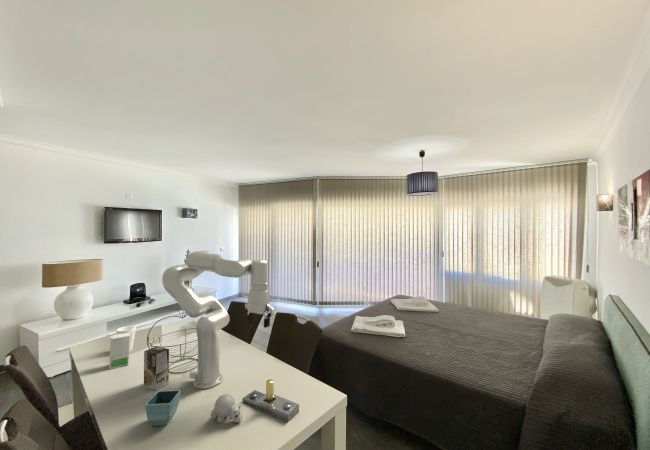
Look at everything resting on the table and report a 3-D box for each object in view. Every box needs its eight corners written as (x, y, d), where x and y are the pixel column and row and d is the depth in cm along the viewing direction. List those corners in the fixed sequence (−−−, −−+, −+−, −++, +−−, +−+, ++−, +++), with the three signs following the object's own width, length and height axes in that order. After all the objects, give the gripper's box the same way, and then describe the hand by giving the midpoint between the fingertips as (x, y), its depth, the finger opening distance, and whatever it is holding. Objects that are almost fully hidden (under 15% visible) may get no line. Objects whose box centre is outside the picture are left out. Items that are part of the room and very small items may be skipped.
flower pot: (157, 414, 105) (157, 390, 105) (180, 412, 106) (181, 389, 106) (143, 430, 96) (144, 404, 97) (169, 429, 97) (170, 403, 97)
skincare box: (109, 369, 139) (110, 339, 140) (109, 364, 145) (110, 335, 145) (129, 364, 145) (130, 335, 145) (128, 360, 150) (129, 331, 150)
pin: (270, 409, 108) (270, 384, 108) (264, 407, 109) (264, 382, 109) (275, 405, 110) (275, 380, 111) (269, 403, 112) (269, 378, 112)
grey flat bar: (242, 401, 113) (242, 393, 113) (254, 393, 119) (254, 385, 119) (287, 422, 100) (287, 412, 101) (299, 411, 106) (299, 402, 107)
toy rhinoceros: (231, 436, 97) (238, 416, 96) (206, 416, 101) (213, 397, 100) (243, 423, 104) (250, 404, 103) (220, 405, 108) (226, 386, 107)
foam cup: (137, 350, 163) (137, 328, 164) (118, 355, 156) (118, 332, 157) (132, 345, 169) (133, 324, 170) (114, 350, 162) (115, 328, 163)
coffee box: (169, 383, 126) (169, 348, 127) (155, 391, 120) (156, 354, 121) (156, 379, 130) (157, 345, 131) (142, 386, 124) (143, 350, 125)
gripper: (239, 286, 125) (239, 324, 125) (267, 290, 117) (267, 331, 116) (251, 284, 132) (251, 319, 131) (279, 287, 123) (278, 325, 122)
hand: (258, 324), depth 124 cm, fingers open, 9 cm apart
